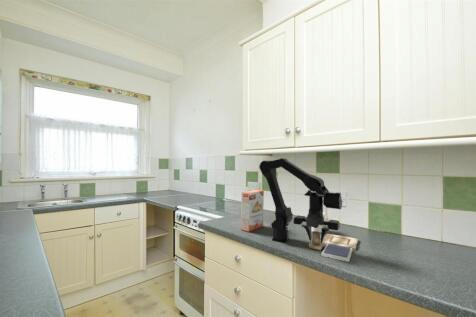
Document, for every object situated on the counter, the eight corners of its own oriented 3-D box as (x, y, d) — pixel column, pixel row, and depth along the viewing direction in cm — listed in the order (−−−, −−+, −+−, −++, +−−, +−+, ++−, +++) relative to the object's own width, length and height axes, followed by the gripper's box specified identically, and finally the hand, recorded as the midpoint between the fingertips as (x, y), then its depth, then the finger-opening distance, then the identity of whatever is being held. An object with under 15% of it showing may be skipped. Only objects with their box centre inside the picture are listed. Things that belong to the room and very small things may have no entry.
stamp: (308, 248, 101) (308, 232, 101) (311, 244, 105) (311, 229, 105) (320, 250, 98) (320, 234, 98) (323, 247, 103) (323, 231, 103)
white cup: (306, 229, 127) (306, 211, 127) (318, 228, 130) (318, 210, 130) (316, 234, 120) (316, 214, 120) (328, 232, 122) (328, 213, 122)
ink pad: (321, 256, 93) (321, 252, 93) (327, 246, 103) (327, 243, 103) (348, 261, 88) (348, 257, 88) (352, 251, 98) (352, 247, 98)
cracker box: (249, 232, 122) (249, 193, 122) (240, 230, 126) (240, 192, 126) (264, 226, 133) (264, 190, 133) (255, 224, 137) (255, 189, 137)
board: (320, 244, 105) (320, 241, 105) (327, 235, 117) (327, 233, 117) (355, 250, 98) (355, 248, 98) (357, 240, 110) (357, 238, 110)
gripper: (289, 207, 100) (289, 243, 100) (335, 212, 90) (335, 252, 90) (297, 203, 109) (297, 236, 109) (340, 207, 99) (340, 243, 99)
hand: (316, 241), depth 102 cm, fingers open, 4 cm apart
